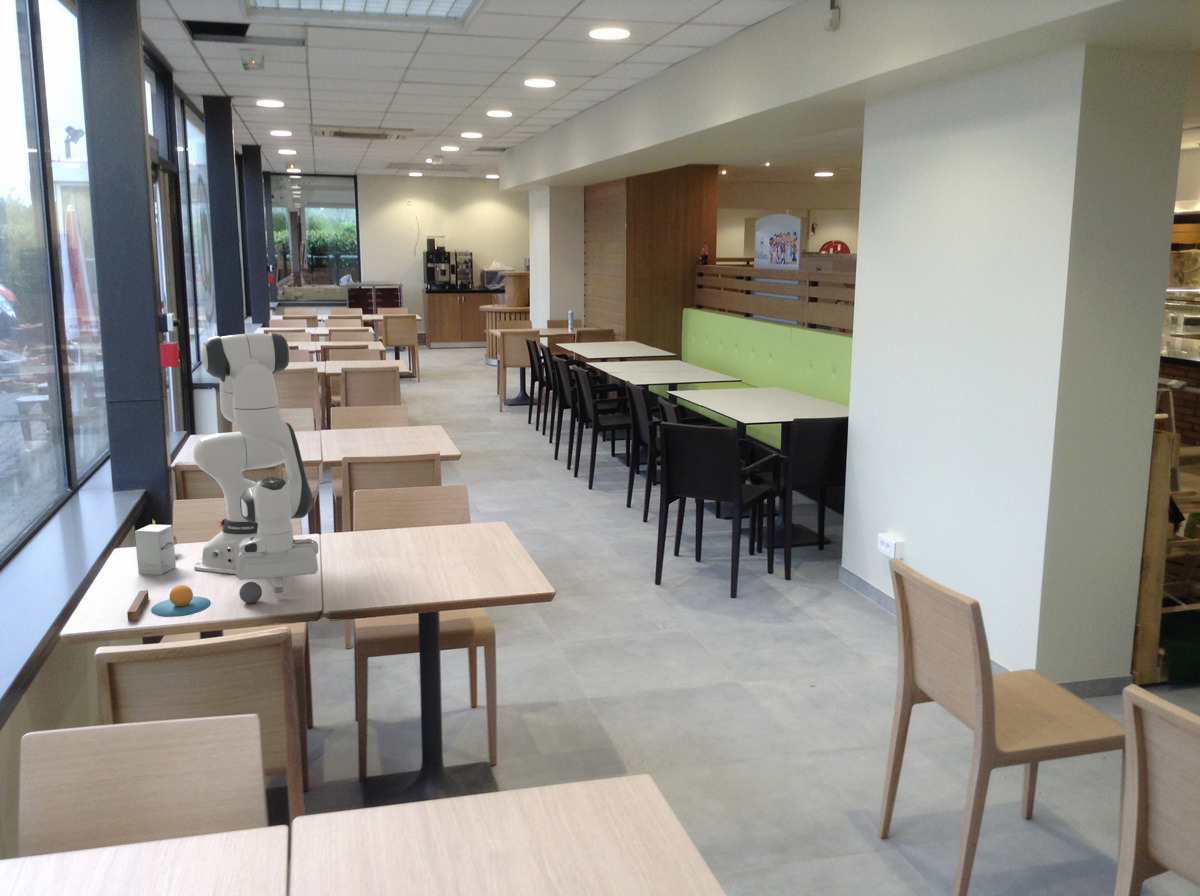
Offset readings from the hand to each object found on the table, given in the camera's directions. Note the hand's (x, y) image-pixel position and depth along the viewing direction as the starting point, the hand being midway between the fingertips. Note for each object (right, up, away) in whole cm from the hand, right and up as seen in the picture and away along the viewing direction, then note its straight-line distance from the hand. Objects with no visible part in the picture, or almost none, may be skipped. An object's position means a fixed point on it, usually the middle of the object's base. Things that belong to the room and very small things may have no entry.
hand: (279, 592), depth 258 cm
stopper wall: (-33, -3, -8) cm, 34 cm away
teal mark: (-23, -3, -6) cm, 24 cm away
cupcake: (-46, +5, +36) cm, 59 cm away
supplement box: (-42, +3, +23) cm, 48 cm away
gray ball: (-6, 0, -4) cm, 7 cm away
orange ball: (-23, 0, -6) cm, 24 cm away
